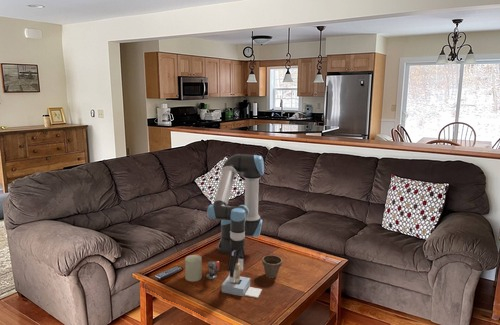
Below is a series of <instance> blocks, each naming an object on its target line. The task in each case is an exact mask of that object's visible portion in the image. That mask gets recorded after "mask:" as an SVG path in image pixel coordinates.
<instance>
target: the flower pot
mask: <svg viewBox="0 0 500 325" xmlns="http://www.w3.org/2000/svg"><path fill="white" fill-rule="evenodd" d="M261 262H262V265H263V270H264V275H265V277H266V278H269V277H270V278H269V279H275V278H277V276H278V273H279V270H280V267H282V265H283V259H282V258H281V257H280V256H278V255H273V254H268V255H265V256H263V257H262V259H261ZM274 277H275V278H274Z"/></svg>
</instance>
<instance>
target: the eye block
mask: <svg viewBox="0 0 500 325" xmlns="http://www.w3.org/2000/svg"><path fill="white" fill-rule="evenodd" d="M229 276H230V273H229V274H228V276H227V277H226V279H225V280H224V281H223V283H222V284H221V293H224V294H228V295H234V296H240V297H245V293H246V292H247V290H248V288H249V287H251V277H246V276H241V275H240V284H239V285H238V284H233V282H229Z"/></svg>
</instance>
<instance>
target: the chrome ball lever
mask: <svg viewBox="0 0 500 325" xmlns="http://www.w3.org/2000/svg"><path fill="white" fill-rule="evenodd" d="M207 268H213V269H214V272H219V270H220V261H219V260H216V261H214V260H211V261H208V262H207Z"/></svg>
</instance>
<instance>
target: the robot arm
mask: <svg viewBox="0 0 500 325" xmlns="http://www.w3.org/2000/svg"><path fill="white" fill-rule="evenodd" d="M220 172H221V177H220V180H219V183H218V187H217V191H216V195H215V198H214V201H213V204H209V205H208V206H207V210H206V214H207V218H209V219H213V220H220V240H219V242H218V245H217V250H218V252H220V253H221V254H225V255H230V257H229V262H228V268H227V272H229V274H230V276H229V275H228V276H229V282H233V283H234V282H235V265H236V263H240V271H244V259H246V256H245V255H246V253H245V247H244V246H245V242H246V240H245V238H246V237H250V238H258V237H260V235H261V230H262V225H263V219H261V215H259V193H260V192H259V189H260V188H259V187H260V185H259V184H260V179H261V178H262V176H263V175H264V174H265V162H264V158H263V156H262V155H257V154H243V153H242V154H241V153H238V154H233V155H232V156H230V157H229V158H228V159H227V160H225V161H224V162H223V165H222V167H221V171H220ZM237 174H242V178H244V204H240V205H238V206H231V205H228V204H229V199H230V196H231V191H232V188H233V184H234V179H235V177H236V176H237Z"/></svg>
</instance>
